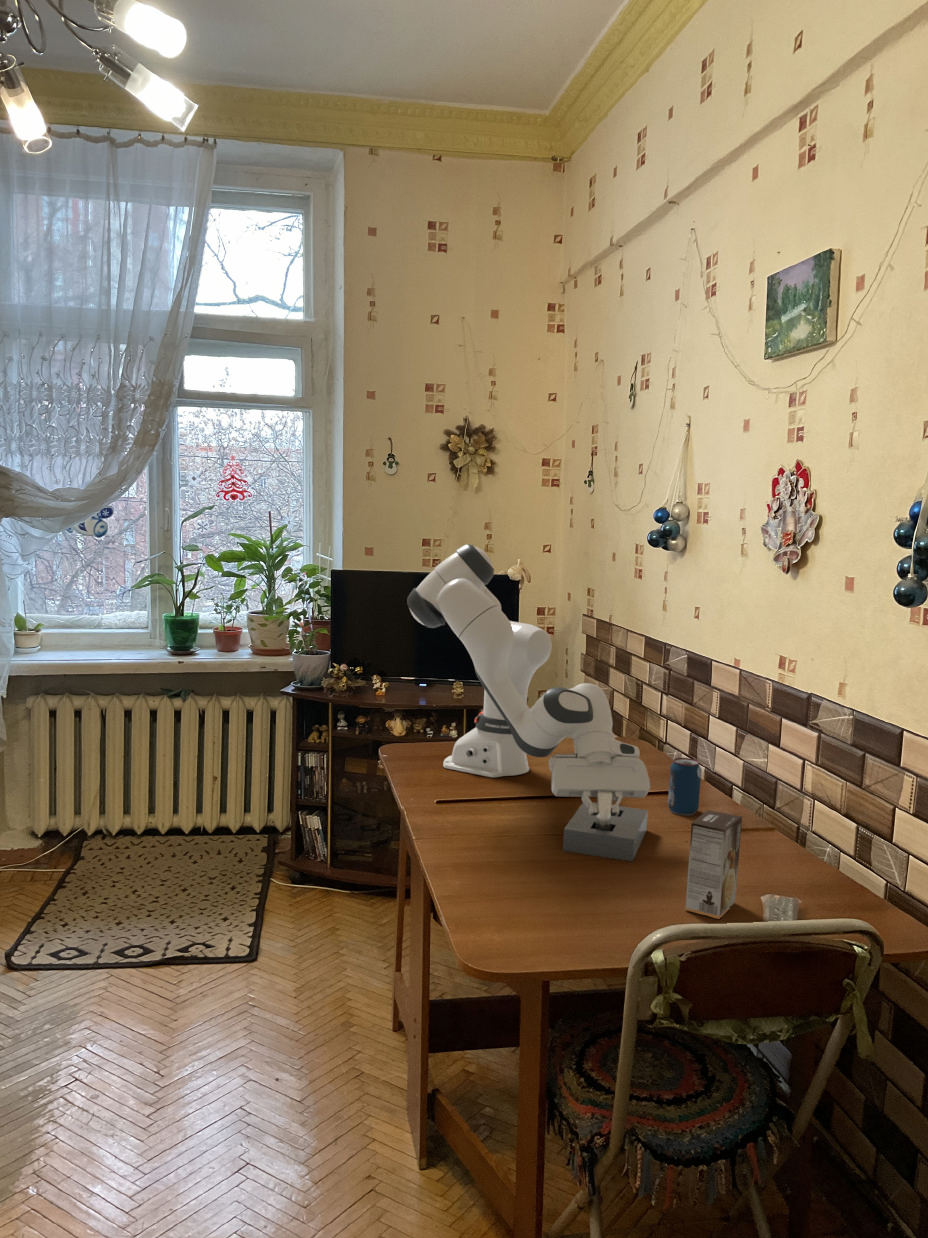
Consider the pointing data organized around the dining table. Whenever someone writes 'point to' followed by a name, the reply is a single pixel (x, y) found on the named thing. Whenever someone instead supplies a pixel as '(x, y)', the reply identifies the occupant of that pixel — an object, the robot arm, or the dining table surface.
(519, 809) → the dining table surface
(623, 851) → the grey peg hole block
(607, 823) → the steel pin
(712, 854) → the coffee box
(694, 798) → the soda can
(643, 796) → the robot arm
